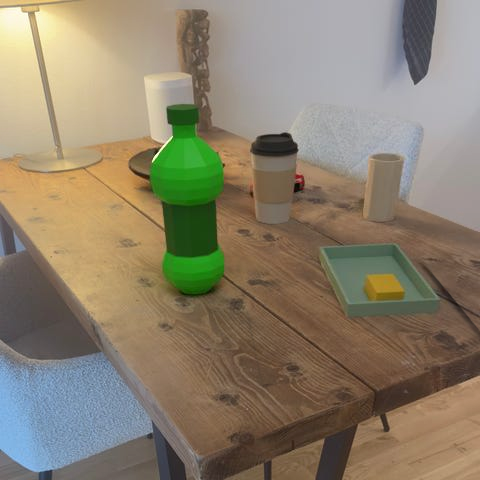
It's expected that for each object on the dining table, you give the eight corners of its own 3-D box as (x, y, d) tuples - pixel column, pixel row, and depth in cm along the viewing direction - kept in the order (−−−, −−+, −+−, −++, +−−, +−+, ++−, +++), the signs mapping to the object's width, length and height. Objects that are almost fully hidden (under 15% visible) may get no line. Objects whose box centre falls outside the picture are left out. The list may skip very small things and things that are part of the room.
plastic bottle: (217, 305, 84) (208, 116, 68) (151, 297, 86) (128, 112, 70) (236, 277, 91) (232, 101, 75) (175, 271, 94) (159, 99, 78)
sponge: (364, 290, 85) (366, 274, 84) (390, 289, 85) (392, 273, 84) (374, 308, 81) (377, 292, 79) (402, 307, 81) (405, 291, 79)
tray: (318, 261, 95) (319, 246, 94) (393, 257, 96) (396, 242, 94) (346, 321, 79) (348, 304, 78) (436, 316, 80) (440, 299, 78)
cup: (389, 210, 115) (398, 152, 108) (399, 221, 110) (408, 160, 103) (359, 212, 114) (366, 153, 108) (367, 222, 110) (374, 162, 103)
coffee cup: (269, 229, 108) (270, 143, 98) (241, 217, 114) (240, 134, 104) (304, 219, 112) (309, 135, 102) (276, 207, 118) (277, 127, 108)
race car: (257, 200, 122) (257, 181, 119) (245, 193, 125) (244, 174, 123) (308, 190, 126) (309, 171, 124) (295, 184, 130) (295, 165, 128)
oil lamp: (218, 164, 145) (216, 131, 140) (235, 200, 122) (234, 162, 117) (130, 170, 142) (126, 136, 137) (130, 207, 119) (125, 169, 114)
